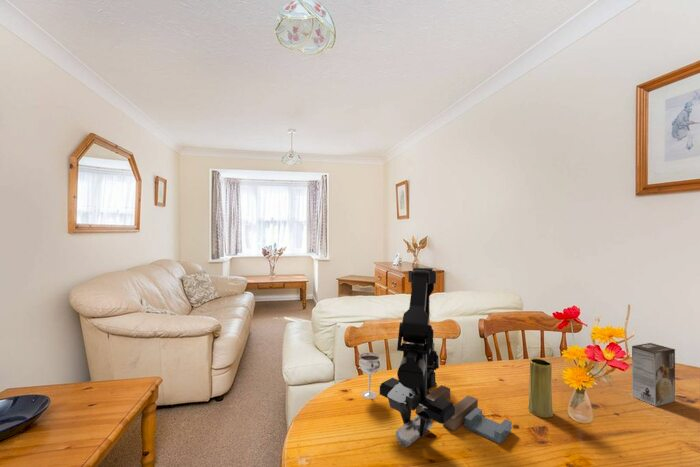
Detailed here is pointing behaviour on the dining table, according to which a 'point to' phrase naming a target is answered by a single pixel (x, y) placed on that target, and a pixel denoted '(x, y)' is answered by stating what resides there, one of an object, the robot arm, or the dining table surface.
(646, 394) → the coffee box
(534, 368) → the vase
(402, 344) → the robot arm
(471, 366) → the dining table surface
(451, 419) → the pair of brown blocks
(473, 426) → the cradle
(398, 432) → the axle
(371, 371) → the wineglass
